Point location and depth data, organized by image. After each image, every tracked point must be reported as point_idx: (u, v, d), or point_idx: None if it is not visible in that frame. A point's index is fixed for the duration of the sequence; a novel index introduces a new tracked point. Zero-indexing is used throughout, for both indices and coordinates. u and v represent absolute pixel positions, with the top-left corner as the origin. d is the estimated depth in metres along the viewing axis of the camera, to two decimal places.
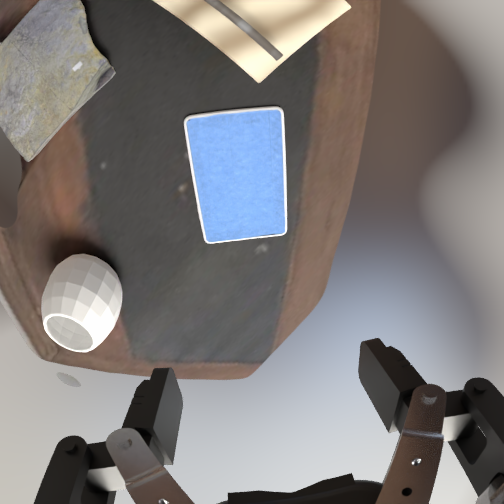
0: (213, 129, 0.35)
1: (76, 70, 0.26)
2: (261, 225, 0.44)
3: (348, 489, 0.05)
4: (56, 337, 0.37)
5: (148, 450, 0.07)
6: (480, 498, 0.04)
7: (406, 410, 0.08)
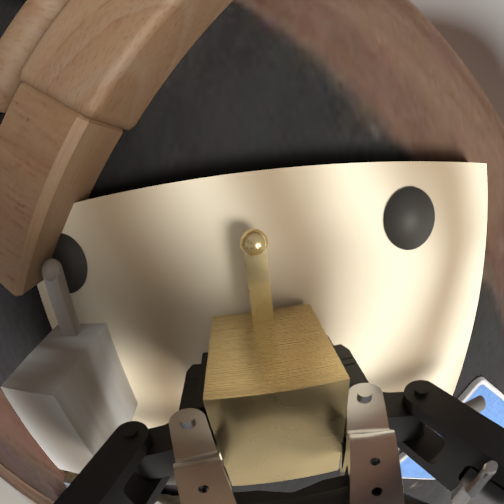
0: None
1: None
2: None
3: (348, 489, 0.05)
4: None
5: None
6: (455, 493, 0.04)
7: None
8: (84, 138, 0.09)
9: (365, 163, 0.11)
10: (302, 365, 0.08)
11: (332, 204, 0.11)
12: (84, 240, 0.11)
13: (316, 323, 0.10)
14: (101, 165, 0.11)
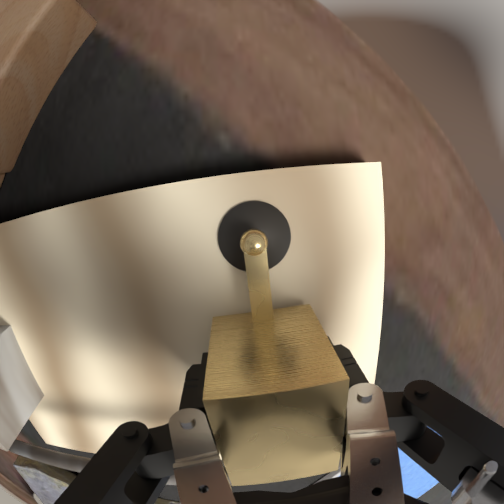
0: None
1: None
2: None
3: (348, 489, 0.05)
4: None
5: None
6: (455, 493, 0.04)
7: None
8: None
9: (190, 181, 0.11)
10: (302, 365, 0.08)
11: (157, 226, 0.11)
12: None
13: (316, 323, 0.10)
14: None
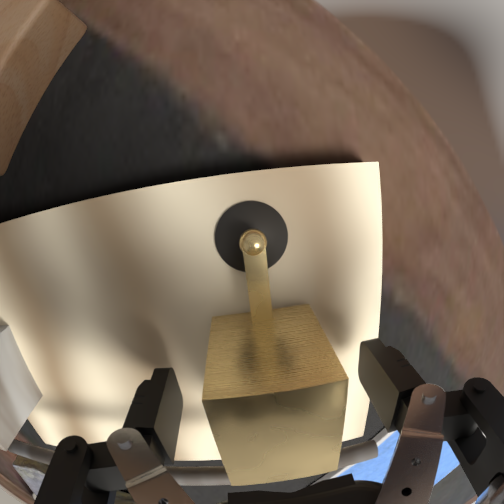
0: None
1: None
2: None
3: (348, 489, 0.05)
4: None
5: (149, 450, 0.07)
6: (480, 498, 0.04)
7: (405, 410, 0.08)
8: None
9: (187, 181, 0.11)
10: (301, 366, 0.08)
11: (154, 227, 0.11)
12: None
13: (315, 323, 0.10)
14: None
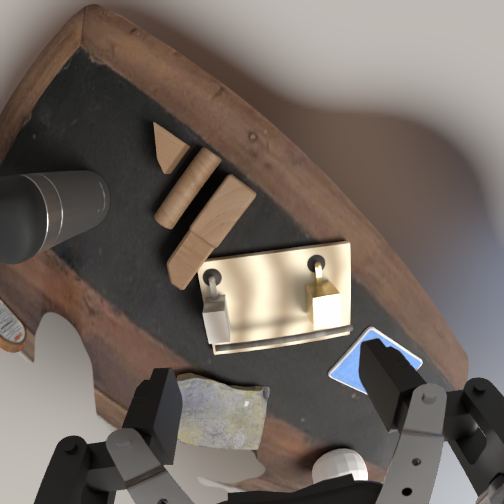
0: (347, 367, 0.51)
1: (248, 405, 0.50)
2: None
3: (348, 489, 0.05)
4: None
5: (148, 450, 0.07)
6: (480, 498, 0.04)
7: (406, 410, 0.08)
8: (211, 251, 0.41)
9: (301, 249, 0.43)
10: (330, 292, 0.41)
11: (291, 261, 0.44)
12: (221, 270, 0.44)
13: (332, 285, 0.43)
14: None
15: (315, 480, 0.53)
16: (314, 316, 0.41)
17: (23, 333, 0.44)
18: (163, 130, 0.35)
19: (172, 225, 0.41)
